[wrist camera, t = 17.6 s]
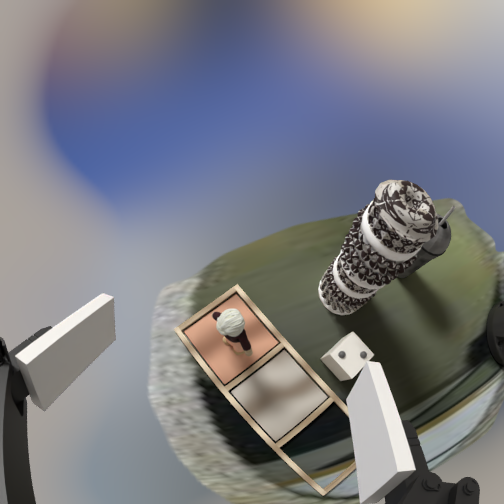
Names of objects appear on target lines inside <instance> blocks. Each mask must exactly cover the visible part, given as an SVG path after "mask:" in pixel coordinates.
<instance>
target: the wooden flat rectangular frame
mask: <svg viewBox="0 0 504 504" xmlns="http://www.w3.org/2000/svg"><path fill="white" fill-rule="evenodd" d="M236 292H237V293H238V294H239V295H240V297H241V298H242V299H243V300H244V301H245V302H246V304H247V305H248V306H249V307H250V308H251V310H252V311H253V312H254V313H255V314H256V315H257V316H258V318H259V319H260V320H261V321H262V322H263V323H264V325H265V326H266V327H267V328H268V329H269V330H270V331H271V333H272V334H273V335H274V336H275V337H276V338H277V339H278V341H279V342H280V344H279V345H278V346H277V347H275V348H274V349H273V350H272V351H270V352H269V353H268V354H267V355H266V356H264V357H263V358H262V359H261V360H259V361H258V362H257V363H255V364H254V365H253V366H252V367H250V368H249V369H248V370H246V371H245V372H244V373H242V374H241V375H240V376H239V377H237V378H236V379H235V380H233V381H232V382H231V383H229V384H228V385H226V386H225V387H224V386H223V385H222V383H221V382H220V381H219V380H218V379H217V377H216V376H215V375H214V374H213V372H212V371H211V370H210V368H209V367H208V366H207V365H206V363H205V362H204V361H203V359H202V358H201V357H200V356H199V354H198V353H197V352H196V350H195V349H194V348H193V346H192V345H191V344H190V342H189V341H188V339H187V338H186V337H185V335H184V334H183V333H182V331H183V330H184V329H185V328H187V327H188V326H190V325H191V324H193V323H194V322H195V321H197V320H198V319H200V318H201V317H202V316H204V315H205V314H207V313H208V312H209V311H211V310H212V309H214V308H215V307H216V306H218V305H219V304H220V303H222V302H223V301H225V300H226V299H227V298H229V297H230V296H232V295H233V294H234V293H236ZM232 308H233V309H237V310H239V312H240V313H241V315H242V316H243V318H244V321H245V327H244V329H245V331H246V335H247V338H248V340H249V342H250V344H251V348H252V351H253V354H252V355H251V356H247V355H246V354H245V353H243V354H240V355H236V354H235V353H234V351H233V346H232V345H226V344H225V343H224V342H223V337H224V335H222V334H220V333H219V331H218V330H217V328H216V324H217V321H216V320H214V319H213V318H212V313H213V312H220V313H222V312H224V311H225V310H227V309H232ZM174 330H175V332H176V333H177V334H178V336H179V337H180V339H181V340H182V341H183V343H184V344H185V346H186V347H187V348H188V350H189V351H190V352H191V354H192V355H193V356H194V358H195V359H196V360H197V362H198V363H199V364H200V366H201V367H202V368H203V369H204V371H205V372H206V373H207V375H208V376H209V377H210V378H211V380H212V381H213V382H214V383H215V385H216V386H217V387H218V388H219V389H220V391H221V392H222V393H223V394H224V396H225V397H226V398H227V399H228V400H229V401H230V403H231V404H232V405H233V406H234V407H235V408H236V410H237V411H238V412H239V413H240V414H241V415H242V416H243V418H244V419H245V420H246V421H247V422H248V423H249V424H250V425H251V427H252V428H253V429H254V430H255V431H256V432H257V433H258V434H259V435H260V436H261V437H262V438H263V439H264V440H265V441H266V443H267V444H268V445H269V446H270V447H271V448H272V449H273V450H274V451H275V452H276V453H277V454H278V455H279V456H280V457H281V458H282V459H283V460H284V461H285V462H286V463H287V464H288V465H289V466H290V467H292V468H293V469H294V470H295V471H296V472H297V473H298V474H299V475H300V476H301V477H302V478H303V479H304V480H305V481H307V482H308V483H309V484H310V485H311V486H312V487H313V488H314V489H316V490H317V491H318V492H319V493H320V494H321V495H323V496H324V495H325V494H326V493H328V492H329V491H330V490H331V489H332V488H334V487H335V486H336V485H337V484H338V483H340V482H341V481H342V480H343V479H344V478H345V477H346V476H348V475H349V474H350V473H351V472H352V471H353V470H354V469H355V468H356V461H355V462H354V463H353V464H352V465H351V466H350V467H348V468H347V469H346V470H345V471H344V472H343V473H342V474H341V475H339V476H338V477H337V478H336V479H335V480H334V481H332V482H331V483H330V484H329V485H328V486H326V487H325V488H324V489H322V488H321V487H320V486H319V485H318V484H317V483H315V482H314V481H313V480H312V479H311V478H310V477H309V476H308V475H307V474H306V473H305V472H303V471H302V470H301V469H300V468H299V467H298V466H297V465H296V464H295V463H294V462H293V461H292V460H291V459H290V458H289V457H288V456H287V455H286V454H285V453H284V452H283V451H282V450H281V449H280V447H281V446H282V445H284V444H285V443H286V442H287V441H289V440H290V439H291V438H292V437H294V436H295V435H296V434H297V433H299V432H300V431H301V430H302V429H303V428H305V427H306V426H307V425H308V424H309V423H310V422H311V421H313V420H314V419H315V418H316V417H317V416H318V415H319V414H321V413H322V412H323V411H324V410H325V409H326V408H327V407H328V406H329V405H330V404H331V403H332V402H333V401H334V402H335V403H336V404H337V405H338V406H339V407H340V409H341V410H342V411H343V412H344V413H345V414H346V415H347V416H348V417H349V412H348V407H347V406H346V405H345V404H344V403H343V402H342V401H341V400H340V399H339V398H338V397H337V396H336V394H335V393H334V392H333V391H332V390H331V389H330V388H329V387H328V386H327V385H326V384H325V383H324V382H323V380H322V379H321V378H320V377H319V376H318V375H317V374H316V373H315V372H314V371H313V370H312V368H311V367H310V366H309V365H308V364H307V363H306V362H305V361H304V360H303V359H302V357H301V356H300V355H299V354H298V353H297V352H296V351H295V350H294V349H293V347H292V346H291V345H290V344H289V343H288V342H287V341H286V340H285V338H284V337H283V336H282V335H281V334H280V333H279V332H278V331H277V329H276V328H275V327H274V326H273V325H272V324H271V323H270V321H269V320H268V319H267V318H266V317H265V316H264V315H263V313H262V312H261V311H260V310H259V309H258V308H257V306H256V305H255V304H254V303H253V302H252V301H251V299H250V298H249V297H248V296H247V295H246V294H245V292H244V291H243V290H242V289H241V288H240V287H239V285H238V284H237V285H235V286H234V287H233V288H231V289H230V290H228V291H227V292H226V293H224V294H223V295H221V296H220V297H219V298H217V299H216V300H214V301H213V302H212V303H210V304H209V305H207V306H206V307H205V308H203V309H202V310H200V311H199V312H198V313H196V314H195V315H193V316H192V317H191V318H189V319H188V320H186V321H185V322H184V323H182V324H181V325H179V326H178V327H176V328H175V329H174ZM184 332H185V334H186V335H187V336H188V338H189V339H190V340H191V342H192V343H193V344H194V346H195V347H196V348H197V350H198V351H199V352H200V354H201V355H202V356H203V358H204V359H205V360H206V362H207V363H208V364H209V365H210V367H211V368H212V369H213V370H214V372H215V373H216V374H217V375H218V377H219V378H220V379H221V380H222V382H223V383H224V384H226V383H228V382H229V381H230V380H232V379H233V378H234V377H236V376H237V375H238V374H240V373H241V372H242V371H244V370H245V369H246V368H247V367H249V366H250V365H251V364H253V363H254V362H255V361H256V360H258V359H259V358H260V357H261V356H263V355H264V354H265V353H266V352H268V351H269V350H270V349H271V348H273V347H274V346H275V345H276V344H278V342H277V341H276V340H275V339H274V337H273V336H272V335H271V334H270V333H269V332H268V330H267V329H266V328H265V327H264V326H263V325H262V324H261V322H260V321H259V320H258V319H257V318H256V317H255V315H254V314H253V313H252V312H251V311H250V310H249V308H248V307H247V306H246V305H245V304H244V303H243V301H242V300H241V299H240V298H239V297H238V295H237V294H235V295H234V296H233V297H231V298H230V299H228V300H227V301H226V302H224V303H223V304H222V305H220V306H219V307H217V308H216V309H215V310H213V311H212V312H210V313H209V314H208V315H206V316H205V317H203V318H202V319H201V320H199V321H198V322H196V323H195V324H194V325H192V326H191V327H189V328H188V329H187V330H185V331H184ZM284 347H285V349H286V350H287V351H288V352H289V353H290V354H291V355H292V356H293V357H294V359H295V360H296V361H297V362H298V363H299V364H300V365H301V366H302V367H303V369H304V370H305V371H306V372H307V373H308V374H309V375H310V376H311V377H312V378H313V380H314V381H315V382H316V383H317V384H318V385H319V386H320V387H321V388H322V389H323V390H324V391H325V393H326V394H327V395H328V396H329V397H330V398H329V399H327V400H326V401H325V402H324V403H323V404H322V405H321V406H320V407H319V408H318V409H317V410H315V411H314V412H313V413H312V414H311V415H310V416H309V417H307V418H306V419H305V420H304V421H303V422H302V423H300V424H299V425H298V426H297V427H296V428H294V429H293V430H292V431H291V432H290V433H288V434H287V435H286V436H285V437H283V438H282V439H281V440H279V441H278V442H277V443H276V444H275V443H274V442H273V441H272V440H271V439H270V438H269V437H268V436H267V435H266V434H265V433H264V431H263V430H262V429H261V428H260V427H259V426H258V425H257V424H256V423H255V422H254V421H253V420H252V418H251V417H250V416H249V415H248V414H247V413H246V412H245V411H244V409H243V408H242V407H241V406H240V405H239V404H238V403H237V401H236V400H235V399H234V398H233V397H232V395H231V394H230V393H229V392H228V391H229V390H230V389H232V388H233V387H234V386H236V385H237V384H238V383H240V382H241V381H242V380H244V379H245V378H246V377H247V376H249V375H250V374H251V373H253V372H254V371H255V370H256V369H258V368H259V367H260V366H262V365H263V364H264V363H265V362H267V361H268V360H269V359H270V358H272V357H273V356H274V355H275V354H276V353H278V352H279V351H280V350H281V349H282V348H284ZM231 392H232V394H233V395H234V396H235V397H236V398H237V400H238V401H239V402H240V403H241V404H242V405H243V406H244V408H245V409H246V410H247V411H248V412H249V413H250V414H251V416H252V417H253V418H254V419H255V420H256V421H257V422H258V423H259V424H260V425H261V426H262V428H263V429H264V430H265V431H266V432H267V433H268V434H269V435H270V436H271V437H272V438H273V439H274V440H275V441H277V440H278V439H279V438H281V437H282V436H283V435H285V434H286V433H287V432H288V431H290V430H291V429H292V428H293V427H294V426H296V425H297V424H298V423H299V422H300V421H302V420H303V419H304V418H305V417H306V416H307V415H309V414H310V413H311V412H312V411H313V410H314V409H315V408H316V407H318V406H319V405H320V404H321V403H322V402H323V401H324V400H325V399H326V398H327V396H326V395H325V394H324V393H323V392H322V391H321V390H320V388H319V387H318V386H317V385H316V384H315V383H314V382H313V381H312V380H311V379H310V378H309V377H308V375H307V374H306V373H305V372H304V371H303V370H302V369H301V368H300V367H299V365H298V364H297V363H296V362H295V361H294V360H293V359H292V358H291V357H290V355H289V354H288V353H287V352H286V351H285V350H283V351H282V352H281V353H279V354H278V355H277V356H276V357H275V358H273V359H272V360H271V361H270V362H268V363H267V364H266V365H265V366H263V367H262V368H261V369H260V370H258V371H257V372H256V373H254V374H253V375H252V376H251V377H249V378H248V379H247V380H245V381H244V382H243V383H241V384H240V385H239V386H237V387H236V388H235V389H233V390H232V391H231Z"/></svg>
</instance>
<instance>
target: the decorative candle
mask: <svg viewBox="0 0 504 504" xmlns="http://www.w3.org/2000/svg"><path fill="white" fill-rule="evenodd" d="M437 230H438V217H437V214H436V212H435V206H434V204H433V202H432V200H431V198H430V197H429V196H428V194H427V193H426V192H425V191H424V190H423V189H422V188H421V187H419V186H418V185H416V184H414V183H412V182H409V181H401V180H388V181H385V182H383V183H380V185H379V187H378V188H377V189H376V191H375V198H374V200H373V201H372V202H371V203H370V204H368V205H366V206H365V208H364V209H362V210H360V211H359V212H358V216H357V218H355V219H354V221H353V225H352V227H351V229H350V231H349V234H347V235H346V237H345V243H344V244H343V245H342V247H341V253H340V255H339V256H336V257H335V258H334V261H333V262H332V263H331V264H330V266H329V267H328V269H327V271H326V272H325V273H324V276H323V277H322V279H321V281H320V284H319V288H318V291H319V297H320V300H321V302H322V303H323V305H324V306H325V307H326V308H327V309H328V310H329V311H331V312H332V313H335V314H338V315H349V314H352V313H353V312H355V311H357V310H358V309H359V308H361V307H362V306H363V304H366V303H367V301H368V300H370V299H371V297H374V296H375V295H376V291H377V290H378V289H379V288H382V287H383V286H385V285H386V284H389V283H390V282H391V280H394V279H395V278H397V277H398V274H402V273H404V271H405V269H407V268H409V267H410V266H412V264H413V261H415V260H416V259H417V254H418V253H417V252H418V251H419V250H420V249H421V247H422V245H423V244H424V243H425V242H427V241H429V240H430V239H432V238H433V237H434V236H435V235H436V232H437ZM416 253H417V254H416ZM405 261H406V262H405ZM404 262H405V263H404Z"/></svg>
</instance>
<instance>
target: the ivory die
mask: <svg viewBox="0 0 504 504" xmlns="http://www.w3.org/2000/svg"><path fill="white" fill-rule="evenodd" d="M373 356H374V354H373V353H372V352H371V351H370V349H369V348H368V347H367V346H366V345H365V344H364V343H363V342H362V341H361V340H360V338H359V337H358V336H357V335H356V334H355V333H354V332H351V333H349V334H348V335H346V336H345V337H343V338H342V339H341V340H340V341H339V342H338V343H337V344H335V345H334V346H333V347H332V348H331V349H330V350H329V351H328V352H327V353H326V354H325V355H324V356H323V357H322V358H321V361H322V362H323V363H324V364H325V365H326V366H327V367H328V368H329V369H330V370H331V371H332V372H333V374H334V375H335V376H336V377H337V378H338V379H339V380H340V381H343V380H348V379H352V378H353V377H354V376H355V375H356V374H357V373H358V372H359V371H360V370H361V369H362V368H363V367H364V365H365V363H366V361H369V360H370V359H371V358H372V357H373Z"/></svg>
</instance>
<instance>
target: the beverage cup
mask: <svg viewBox="0 0 504 504" xmlns="http://www.w3.org/2000/svg"><path fill="white" fill-rule="evenodd" d="M454 209H455V207H454V206H453V207H452V208H451V209H450V210H449V212H448V213H447V214H446V215H445V217H444V218H443V217H442V216H440V215H438V214H437V217H438V230H437V232H436V235H435V236H434V237H433V238H432V239H430V240H429V241H427V242H425V243H424V244H423V245H422V247H421V249H420V250H419V251H418V252H417V253H418V254H417V253H416V254H417V259H416V260H415V261H413V264H412V266H410V267H409V268H407V269H405V271H404V273H402V274H398V277H399V278H405V277H406V276H408V275H410V274H412V273H413V272H415V271H416V270H418V269H419V268H420V267H422V266H423V265H425V264H426V263H428V262H429V261H430V260H432V259H434V258H436V257H438V256H440V255H442V254H443V253H444V252H445V251H446V249H447V248H448V246H449V243H450V240H451V229H450V226H449V224H448V222H447V221H446V219H447V218H448V217H449V216H450V214H451V213H452V212H453V211H454ZM405 262H406V261H405ZM405 262H404V263H405Z"/></svg>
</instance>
